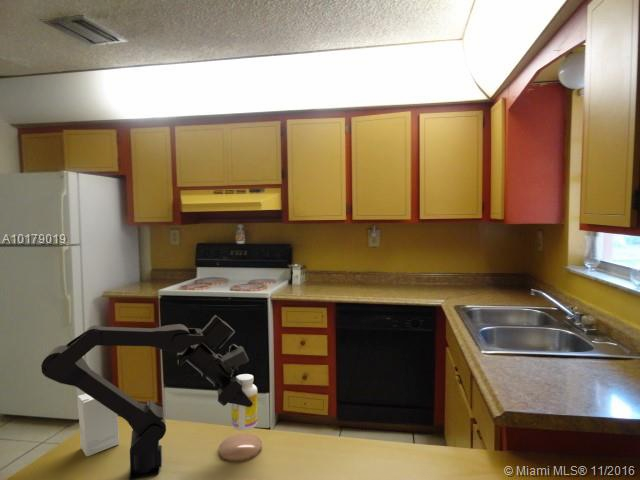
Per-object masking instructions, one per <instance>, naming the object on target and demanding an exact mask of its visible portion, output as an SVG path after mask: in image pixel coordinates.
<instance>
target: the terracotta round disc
mask: <svg viewBox="0 0 640 480" xmlns="http://www.w3.org/2000/svg"><path fill="white" fill-rule="evenodd" d="M262 445H263V442H262V439H261V438H260V437H259V436H257V435H255V434H251V433H240V434H239V433H238V434H234V435H231V436H229V437H227V438H225V439H223V441H221V442H220V444H219V447H218V454H219V456H220V455H221V456H220V457H221V458H222V457H223V458H224V459H223V458H222V459H223V460H225V459H227V460H226V461H228V460H231V461H230V462H243V461H242V460H244V461H247V459H248V460H249V459H253V458H254V456H255V457H256V456H257V455H259V453H260V452H261V451H260V450H262V449H263V447H262ZM261 448H262V449H261Z"/></svg>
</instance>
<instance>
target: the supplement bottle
mask: <svg viewBox="0 0 640 480" xmlns="http://www.w3.org/2000/svg"><path fill="white" fill-rule="evenodd" d="M236 377H237V378H238V379H239V380H240V381H242V390H243V391H244V393H245V394H246V395H247V396H248V398H249V399H250V400H251V402H252V403H253V405H252V406H251V407H247V406H242V405H237V404H231V426H232V428H233V429H235V430H237V431H248V430H252V429H254V428H255V427H256V426H257V425H258V387H257V386H256V385H255V384H254V375H253V374H249V373H243V374H238V376H236Z"/></svg>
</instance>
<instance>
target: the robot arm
mask: <svg viewBox="0 0 640 480" xmlns="http://www.w3.org/2000/svg"><path fill="white" fill-rule="evenodd" d="M235 333H236V331H235V330H234V329H233V328H232V327H231V326H230V325H229V323H227V322H226V321H224V320H222V319H221V318H220V317H219V316H217V315H216V314H214V316H213V317H211V319H210V321H209V322H208V323H207V324H206V325H205V326H204V327H203V328H202V329H201V328H195V327H187V326H186V325H184V324H181V323H177V324H176V323H175V324H168V325H167V324H166V325H163V326H159V327H152V328H151V327H150V328H149V327H123V326H121V327H120V326H118V327H117V326H101V325H96V324H95V325H91V326H89V327H88V328H86V330H85V331H84V332H82V333H81V334H78V336H76V337H74V338H73V339H72V340H71V341H69V342H68V343H67V344H64V345H63V344H62V345H59V346H56V347H54V348H53V349H51V351H50V352H49V353H48V354H47V356H45V358H44V359H43V361H42V363H41V365H40V366H41V373H42V375H43V376H44V377H46V378H47V379H49V380H51V381H54V382H56V383H59V384H61V385H64V386H65V385H66V386H71V387H74V388H77V389H78V390H80V391H81V392H83V393H84V394H88V395H89V396H91V397H92V398H94V399H95V400H97V401H98V402H100V403H101V404H102V405H104V406H105V407H107V408H108V409H110V410H111V411H113V412H114V413H116V414H117V415H118V416H119V417H120V418H122V419H124V421H126V422H127V424H128V425H129V426H130V428H131V429H132V430H131V436H130V437H131V438H130V439H131V440H130V448H129V468H130V469H129V470H130V471H129V472H130V473H129V475H128V480H135V479H141V478H146V477H150V476H155V475H159V473H160V468H162V466H163V465H162V464H163V446H162V444H160V440H162V438H164V436H165V434H166V431H167V423H166V414H165V412H164V411H163V406H160V405H157V404H156V402H154V401H153V400H152V399H149V400H148V401H147V403H144V402H143V403H142V402H139V401H137V400H136V399H134V398H133V397H131V396H130V395H129V394H127V393H126V392H124V391H123V390H121V389H120V388H118V387H117V386H115V385H114V384H113V383H111V382H110V381H109V380H107V379H106V378H104V377H103V376H101V375H100V374H98V373H97V372H95V371H94V370H92V368H90V366H89V365H88V364H87V362H86V360H85V359H84V358H83V357H84V356H86V354H88V353H89V352H90V351H91V350H92V349H94V348H95V347H96V346H105V347H107V346H109V347H111V346H114V347H151V348H156V349H158V350H161V351H165V352H171V353H176V358H177V366H178V367H181V366H182V365H183V364H184V363H185V362H187V363H188V364H189V365H190V366H192V367H193V368H194V369H195V370H197V371H198V372H199V374H201V376H200V377H201V378H202V379H204V380H206V379H207V380H208V381H209V382H210V383H211V384H213V385H212V386H213V388H214V389H216V390H217V391H216V396H217V402H218V403H219V404H220V405H222V406H223V407H224V406H226V405H227V404H231V405H232V404H237V405H242V406H247V407H251V406H252V405H253V403H252V402H251V400H250V399H249V398H248V396H247V395H246V394H245V393H244V391H243V390H242V381H240V380H239V379H238V378H237V377H236V376H238V375H239V369H238V367H240V366H241V365H243V364H247V363H248V362H249V357H248V355H247V352H246V351H245V348H244V347H243V346H241V345H239V346H238V345H236V344H235V343H232V344H231V345H230V346H229V347H228V352H226V354H224V355H222V354H221V353H217V354H216V353H215V352H214V351H213V350H214V349H216V350H217V349H221V348H222V347H223V346H224V345H225V344H226V342H227V341H229V339H230V338H231V337H232V336H233V335H234V334H235ZM207 345H208V346H209V347H210V348H209V347H208V346H207ZM211 348H212V349H213V350H212V349H211Z"/></svg>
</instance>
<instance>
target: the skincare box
mask: <svg viewBox="0 0 640 480" xmlns="http://www.w3.org/2000/svg"><path fill="white" fill-rule="evenodd" d="M77 408H78V409H77V410H78V421H79V422H78V423H79V436H80V438H79V439H80V448H81V450H82V451H83V454H84V456H86V457H89V456H92V455H94V454H98V453H100V452H102V451H103V452H104V450H108V449H110V448H113V447H115V446H117V445H120V439H119V437H120V436H119V420H118V419H119V418H118V416H119V415H117V414H116V413H114V412H113V411H111V410H110V409H108V408H107V407H105V406H104V405H102V404H101V403H100V402H98V401H97V400H95V399H94V398H92V397H91V396H89V395H88V394H86V393H84V394H80V395H77Z"/></svg>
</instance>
